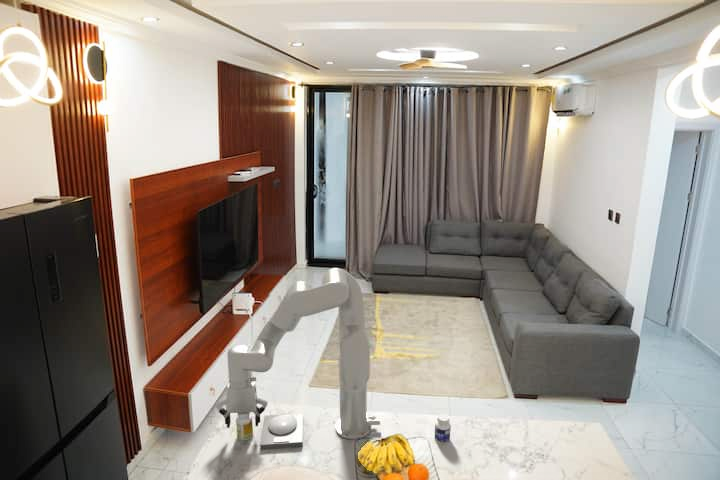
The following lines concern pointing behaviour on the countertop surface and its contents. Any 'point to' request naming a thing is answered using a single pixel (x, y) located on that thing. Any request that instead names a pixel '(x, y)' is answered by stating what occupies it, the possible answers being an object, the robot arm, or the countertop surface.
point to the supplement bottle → (244, 426)
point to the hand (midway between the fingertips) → (243, 424)
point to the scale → (282, 431)
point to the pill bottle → (442, 429)
